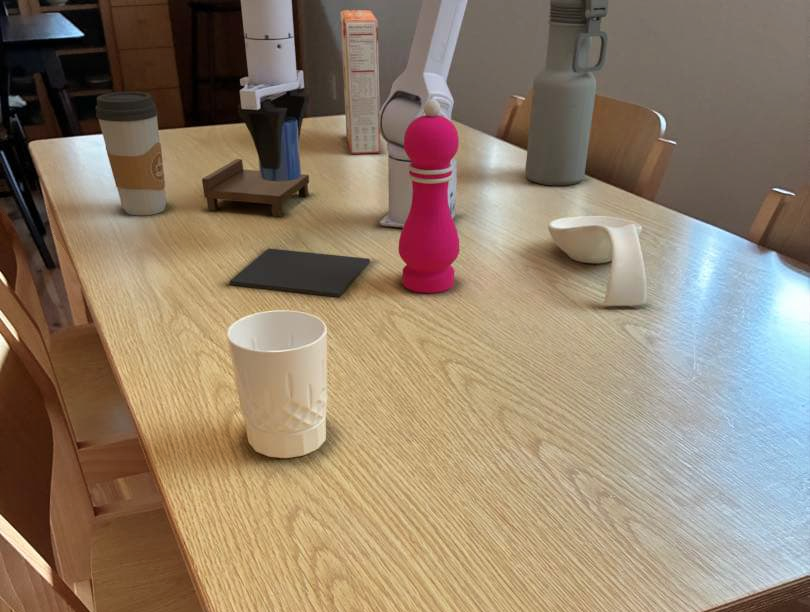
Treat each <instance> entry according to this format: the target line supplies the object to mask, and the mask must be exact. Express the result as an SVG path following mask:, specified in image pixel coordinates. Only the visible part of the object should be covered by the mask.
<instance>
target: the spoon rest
mask: <svg viewBox="0 0 810 612" xmlns="http://www.w3.org/2000/svg"><path fill="white" fill-rule="evenodd" d="M547 228H548V232H549V234H550V236H551V239H552V240H553V242H554V243H555V244H556V246H557V247H559V249H561V250H562V251H563V252H564V253H566V254H567V256H568V257H569V258H570V259H572V260H574V261H576V262H579V263H585V264H605V263H609V262H611V265H610V266H611V267H610V272H609V278H608V283H607V287H606V292H605V296H604V302H603V303H604V305H605V306H609V307H610V306H611V307H613V306H641V305H645V304H646V301H647V278H646V277H647V276H646V270H645V269H646V268H645V263H644V262H645V261H644V257H643V251H642V247H641V243H640V240H639V239H640V238H639V237H640V235H641V233H642V231H643V228H642V226H641V225H640V224H639V223H637V222H635V221H632V220H629V219H625V218H620V217H617V216H609V215H607V216H606V215H576V216H565V217H560V218H556V219H553V220H551V221H550V222H549V223H548V226H547Z"/></svg>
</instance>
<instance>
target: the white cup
mask: <svg viewBox="0 0 810 612" xmlns="http://www.w3.org/2000/svg"><path fill="white" fill-rule="evenodd" d="M226 339H227V345H228V351H229V355H230V360H231V361H230V362H231V367H232V373H233V376H234V381H235V387H236V392H237V396H238V399H239V400H238V401H239V406H240V410H241V413H242V416H243V418H244V426H245V431H246V436H247V442H248V444H249V445H250V446H251V448H252V449H253V450H254V451H255V452H256V453H258V454H261V455H264V456H266V457H269V458H277V459H278V458H279V459H292V458H299V457H303V456H307V455H308V454H310V453H312V452H314V451H317V450H318V449H320V448H321V446H322V445H323V444H324V443H325V442H326V440H327V428H326V427H327V410H328V393H329V392H328V390H329V389H328V327H327V324H326V323H325V322H324V321H323V319H321V318H320V317H318V316H316V315H314V314H312V313H309V312H308V313H307V312H304V311H299V310H289V309H275V310H265V311H259V312H255V313H252V314H251V313H250V314H248V315H245V316H243V317H241V318H239V319H237V320H235V321H234V322H233V323H231V324H230V325H229V326H228V327H227V330H226Z"/></svg>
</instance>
